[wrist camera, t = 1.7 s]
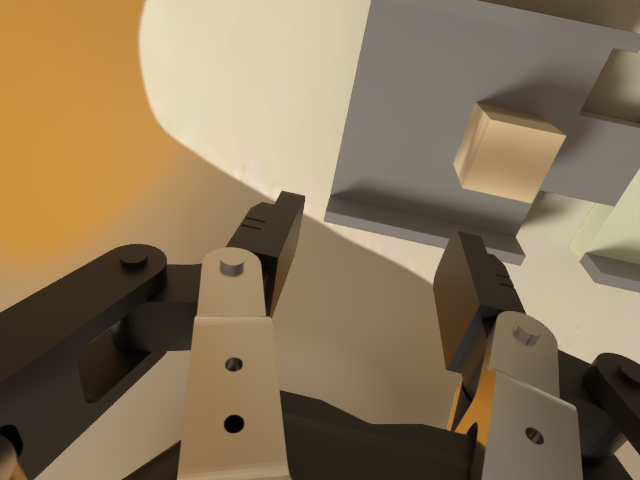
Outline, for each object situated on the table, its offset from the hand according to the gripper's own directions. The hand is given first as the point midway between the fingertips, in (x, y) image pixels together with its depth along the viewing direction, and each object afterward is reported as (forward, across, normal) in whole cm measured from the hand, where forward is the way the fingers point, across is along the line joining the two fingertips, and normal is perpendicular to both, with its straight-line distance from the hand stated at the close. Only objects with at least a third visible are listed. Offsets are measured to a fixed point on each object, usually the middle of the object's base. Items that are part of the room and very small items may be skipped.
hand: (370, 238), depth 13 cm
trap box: (+17, -11, 0) cm, 21 cm away
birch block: (+15, -8, 0) cm, 17 cm away
